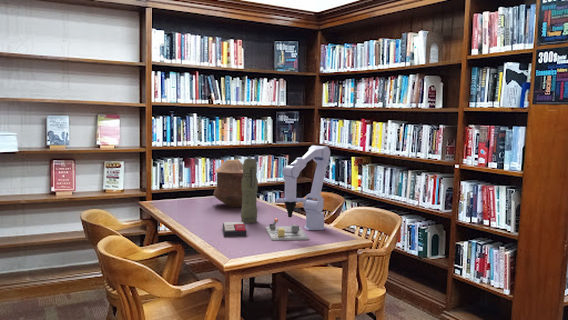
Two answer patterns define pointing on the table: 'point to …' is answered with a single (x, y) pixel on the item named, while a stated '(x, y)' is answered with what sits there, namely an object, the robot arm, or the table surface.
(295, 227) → the slider grey
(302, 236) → the panel
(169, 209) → the table surface
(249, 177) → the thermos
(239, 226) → the red and grey box
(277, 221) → the toggle lever
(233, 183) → the pottery vessel
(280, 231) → the slider brass
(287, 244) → the table surface
